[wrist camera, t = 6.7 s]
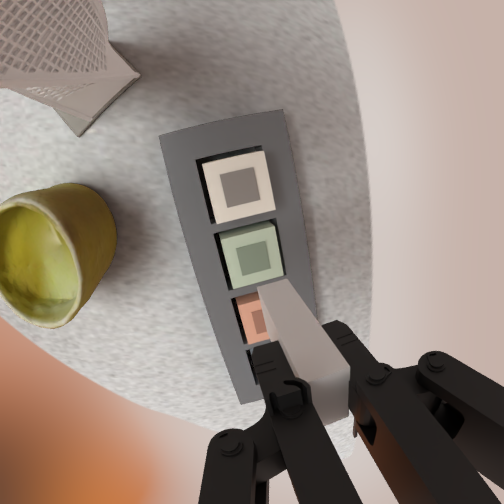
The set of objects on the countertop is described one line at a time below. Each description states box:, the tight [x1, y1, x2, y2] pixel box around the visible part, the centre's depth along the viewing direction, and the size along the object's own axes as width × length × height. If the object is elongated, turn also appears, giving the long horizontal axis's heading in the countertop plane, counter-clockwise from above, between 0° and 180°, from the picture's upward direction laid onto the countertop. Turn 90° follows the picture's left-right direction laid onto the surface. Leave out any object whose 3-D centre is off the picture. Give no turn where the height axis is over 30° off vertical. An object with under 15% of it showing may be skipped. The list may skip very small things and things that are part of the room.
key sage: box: [218, 220, 284, 289], centre depth 23 cm, size 4×4×3 cm
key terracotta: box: [235, 291, 270, 344], centre depth 25 cm, size 4×4×3 cm
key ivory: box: [202, 151, 276, 224], centre depth 20 cm, size 4×4×3 cm
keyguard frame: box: [159, 109, 317, 405], centre depth 24 cm, size 26×9×2 cm, turn 12°
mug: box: [0, 183, 117, 329], centre depth 18 cm, size 12×10×10 cm
